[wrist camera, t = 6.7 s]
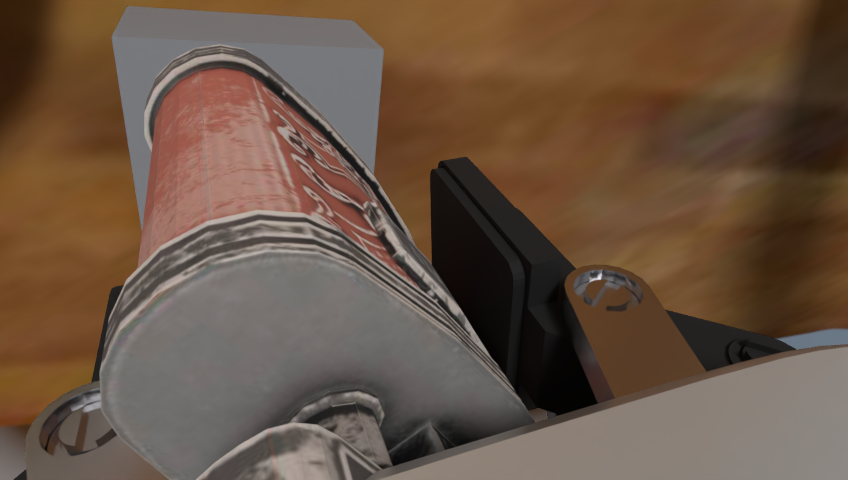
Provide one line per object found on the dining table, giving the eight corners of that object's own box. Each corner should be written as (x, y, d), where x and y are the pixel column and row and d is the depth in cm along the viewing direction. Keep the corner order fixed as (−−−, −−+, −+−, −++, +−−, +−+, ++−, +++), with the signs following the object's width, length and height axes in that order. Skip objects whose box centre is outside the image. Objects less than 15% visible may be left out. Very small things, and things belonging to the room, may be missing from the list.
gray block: (351, 19, 28) (383, 49, 23) (342, 198, 33) (367, 253, 28) (127, 5, 25) (111, 36, 20) (155, 207, 30) (147, 270, 25)
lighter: (446, 271, 15) (737, 698, 7) (345, 344, 15) (521, 847, 7) (247, 4, 10) (462, 407, 2) (98, 114, 10) (-180, 864, 2)
